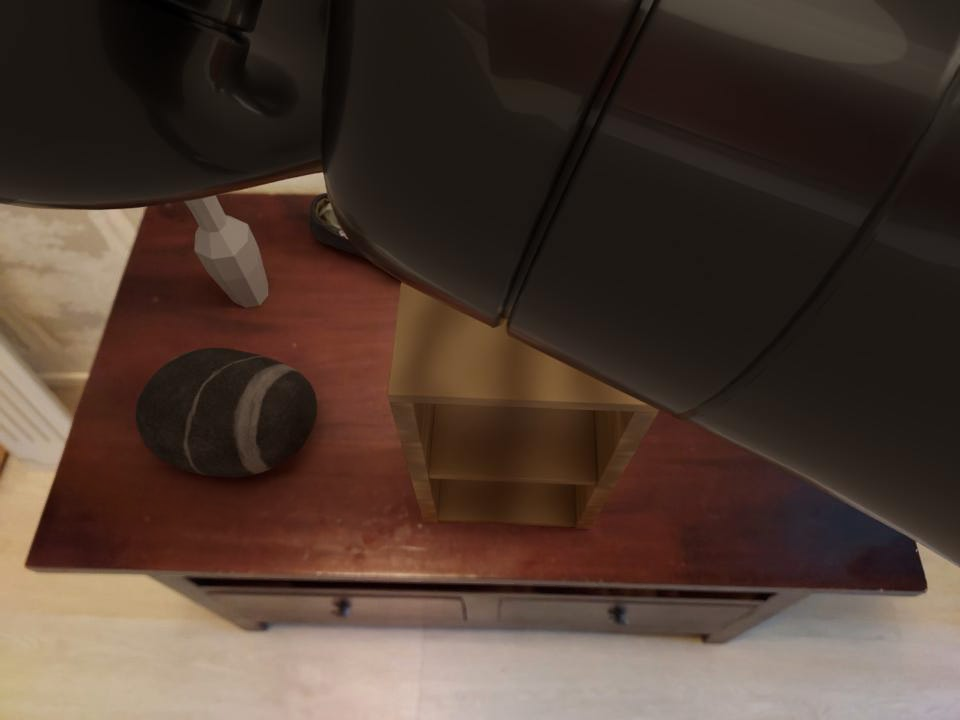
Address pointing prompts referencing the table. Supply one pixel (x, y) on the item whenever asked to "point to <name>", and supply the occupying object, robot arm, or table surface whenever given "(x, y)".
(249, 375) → the decorative stone
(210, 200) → the faceted bottle
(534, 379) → the wooden shelf
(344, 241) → the ballet flat
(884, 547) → the table surface
